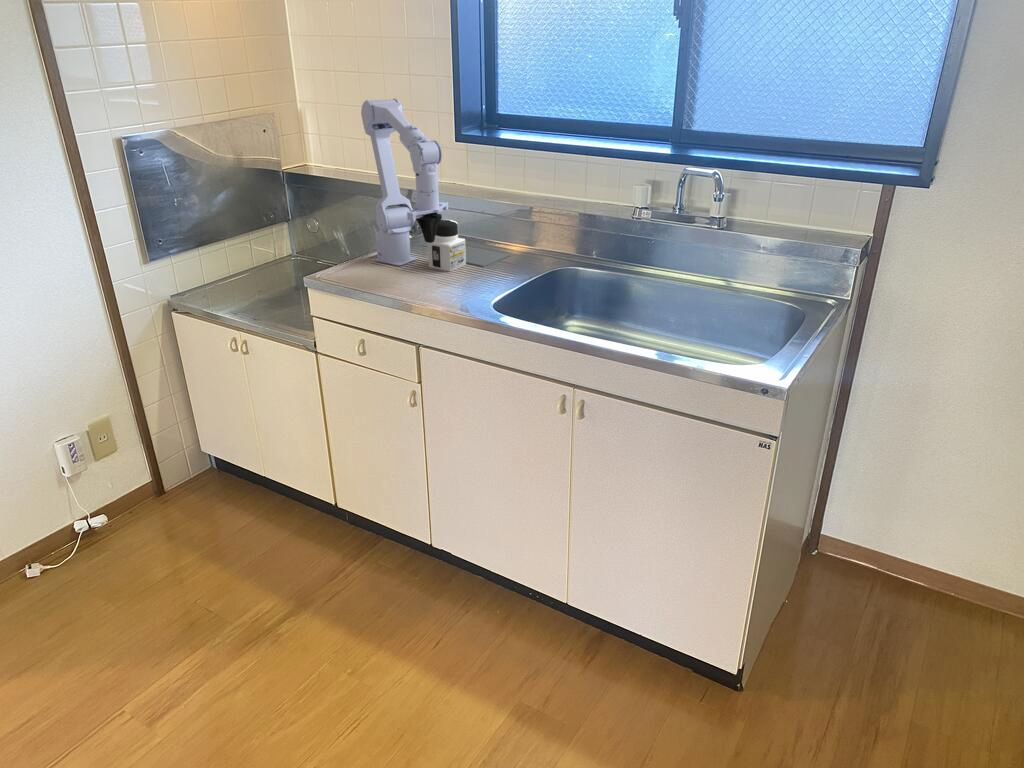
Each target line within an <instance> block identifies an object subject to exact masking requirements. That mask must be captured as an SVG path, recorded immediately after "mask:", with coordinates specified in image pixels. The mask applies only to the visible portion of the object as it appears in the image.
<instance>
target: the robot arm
mask: <svg viewBox="0 0 1024 768" xmlns="http://www.w3.org/2000/svg"><path fill="white" fill-rule="evenodd" d="M360 114H361V120H362V125H363V129H364V133H365V134H366V135H368V136H370V140H371V144H372V145H371V146H372V150H373V154H374V156H373V157H374V159H375V160H374V161H375V164H376V169H377V176H378V179H379V184H380V189H381V194H382V197H381V198H380V199H379V201H378V202H377V203H376V204H375V220H376V225H377V227H378V229H379V230H378V232H377V233H376V237H375V245H376V258H375V262H376V261H377V262H380V263H385V264H390V265H393V266H398V267H400V266H404V265H406V264H409V263H411V262H415V261H416V260H418V258H417V257H416V256H411V243H410V242H411V238H410V231H412V228H413V227H414V225H415V222H416V223H417V224H418V226H419V227H420V229H421V232H422V235H423V238H424V242H425V243H428V242H429V243H432V242H434V240H435V235H436V230H437V227H438V224H439V222H440V220H443V218H442V217H443V216H442V214H441V212H443V211H448V210H449V202H448V201H440V197H439V195H440V193H439V191H440V190H439V167H438V165H439V164H440V163H441V161H442V157H443V153H442V148H441V145H440V143H438V141H437V140H435V139H434V140H432V139H429V138H427V137H426V135H425V134H424V133H423V132H422V131H421V129H420V128H419V127H418V126H417V125H416V124H410V123H409V121H408V120H407V118H406V117H405V115H404V112H403V106H402V103H401V102H400V100H398V98H391V99H377V100H375V99H374V100H367V99H366V100H364V101H363V102H362V106H361V111H360ZM394 132H397V133H398V134H399V135H398V136H399V141H400V143H401V144H402V146H403V147H405V148H406V150H407V151H408V153H409V157H410V161H411V163H412V170H413V173H415V189H416V192H415V193H416V195H415V196H416V206H415V208H413V207H412V204H411V201H410V199H409V198H407V197H405V196H404V195H403V194H401V190H400V185H399V181H398V175H397V170H396V166H395V160H394V155H393V151H392V145H391V141H390V136H391V134H392V133H394Z"/></svg>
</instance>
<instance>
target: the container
mask: <svg viewBox="0 0 1024 768" xmlns="http://www.w3.org/2000/svg"><path fill="white" fill-rule="evenodd" d="M458 224H459V223H458V222H457V221H455V220H452V219H441V220H440V222H439V224H438V227H437V230H436V235H435V240H434V242H432V243H429V242H427V252H428V267H429V268H430V269H436V270H440V271H444V272H450V273H451V272H454V271H455V270H457V269H460V268H462V267H465V266H466V265H467V263H466V246H467V245H466V239H465V238H463V237H459V225H458Z"/></svg>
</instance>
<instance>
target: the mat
mask: <svg viewBox="0 0 1024 768" xmlns="http://www.w3.org/2000/svg"><path fill="white" fill-rule="evenodd" d="M465 246H466V265H467V264H468V265H473V266H476V267H481V268H486V267H488V266H489V265H492V264H495V263H497V262H499V261H502V260H504V259H506V257H507V258H509V257H511V255H510V254H507V253H503V252H498V251H492V250H488V249H482V248H478V247H474V246H473V247H472V246H467V245H465ZM508 256H509V257H508Z"/></svg>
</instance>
